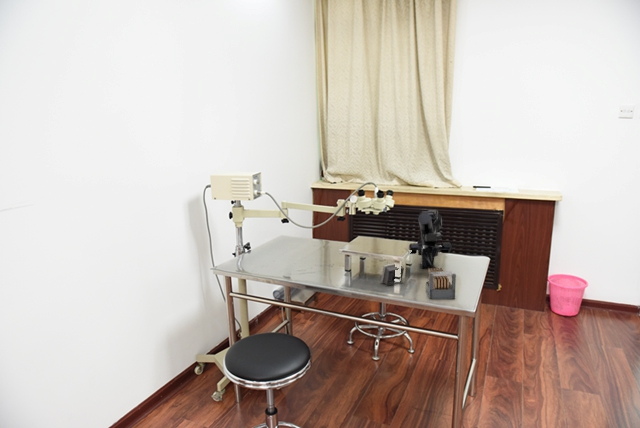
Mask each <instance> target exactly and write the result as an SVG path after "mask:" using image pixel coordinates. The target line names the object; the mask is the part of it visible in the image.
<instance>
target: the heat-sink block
mask: <svg viewBox="0 0 640 428" xmlns="http://www.w3.org/2000/svg"><path fill="white" fill-rule="evenodd" d="M431 272H445V271H444V269H443V268H442V267H437V268H436V267H435V268H434V269H433V268H431V269H430V268H429V269H428V275H429V274H431ZM427 277H428V280H427V282H428V283H429V276H427ZM449 282H450V278H449V276H433V289H449Z"/></svg>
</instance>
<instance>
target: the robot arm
mask: <svg viewBox="0 0 640 428" xmlns="http://www.w3.org/2000/svg"><path fill="white" fill-rule="evenodd" d="M442 217H443V216H442V214H440V213H439V209H434V208H428V209H427V211H426V210H425V211H424V210H422V211H421V213H419V215H418V219H417V220H418V225H419V228H420V229H419V230H420V237H421V239H420V241H419V242H416V243H415V242H413V243H412V242H410V244H409V245H408V249H409V250H412V252H411V253H410V254H409V255H416V254H417V253H418V256H421V263H419V266H420V267H421V270H424V269H426V270H429V268H430V269H431V268H433V269H434V268H436V266H435V265H434V263H435V262H434V261H435V258H436V257H438V256H439V251H440V253H441V254H449V253H450V252H451V250H452V248H453V247H452V244H451V242H441V244H440V245H438V244H437V243H438V241H440V240H441V239H442V233H441V231H440V230H441V227H442V226H443V219H442ZM438 231H440V232H438ZM408 249H407V250H408Z"/></svg>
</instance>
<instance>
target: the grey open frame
mask: <svg viewBox="0 0 640 428" xmlns="http://www.w3.org/2000/svg"><path fill="white" fill-rule="evenodd" d="M433 276H447V277H451V282H450V281H449V289H433ZM428 277H429V283H428V281H426V282H425V292H426V294H427V296H428V299H429V300H455V299H456V284H457V283H456V280H457V279H456V277H457V275H456V273H453V272H452V271H444V272H431V274H429V273H428Z"/></svg>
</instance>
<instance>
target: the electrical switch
mask: <svg viewBox="0 0 640 428" xmlns="http://www.w3.org/2000/svg"><path fill="white" fill-rule="evenodd" d="M395 263H396V262H395ZM395 263H389V264H384V265H383V267H382V272H381V279H380V283H382V284H385V285H386V286H391V285H394V279H395V270H398V269H399V268H397V267H395ZM404 271H405V267H404V266H403V265H402V266H401V273H400V274H401V281H400V282H402V280H403V275H404Z"/></svg>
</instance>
